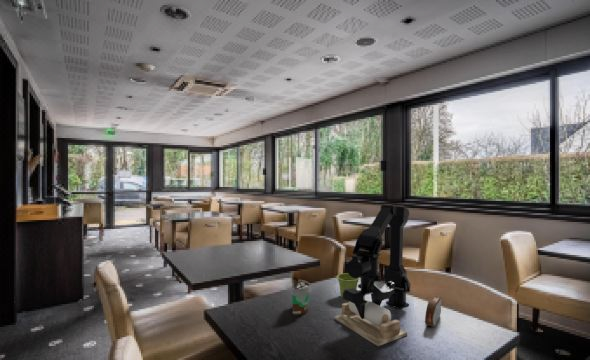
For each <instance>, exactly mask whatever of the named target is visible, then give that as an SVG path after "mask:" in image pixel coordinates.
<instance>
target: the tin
mask: <svg viewBox="0 0 590 360" xmlns="http://www.w3.org/2000/svg"><path fill="white" fill-rule="evenodd" d="M442 300H443V298H442V296H439V295H437V294H432V296H431V298H429V301H428V302H427V306H426V310H425V317H424V321H425V322H424V324H425V326H429V327H432V328H435V327H436V325H437V323H438V321H439V320H440V318H441V317H440V316H441V313H442V302H443V301H442Z"/></svg>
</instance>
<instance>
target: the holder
mask: <svg viewBox="0 0 590 360" xmlns="http://www.w3.org/2000/svg"><path fill="white" fill-rule="evenodd" d="M334 320H335V321H337V322H338V323H340V324H341V325H343V326H345V327H347V329H349V330H351V331H353V332H354V333H356V334H357V335H359V336H361V337H362V338H364V339H365V340H367V341H369V342H370V343H372V344H373V345H376V346H377V347H380V346H382V345H385V344H387V343H388V344H389V343H391V342H393V341H396V340H399V339H400V338H403V337H406V336H408V332H407V331H406V330H404V329H402V328H401V327H400V320H398V319H393V320H391V321H390V322H387V323H384V324H381V325H380V327H379V326H377V325H375V324H373V323H371V322H370V321H368V320H366V319H362V318H361V317H360V316H359V315H357V314H355V313H353V312H352V311H350V309H349V301H347V302H345V303H341V313H339V314H338V315H334Z"/></svg>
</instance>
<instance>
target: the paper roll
mask: <svg viewBox="0 0 590 360" xmlns="http://www.w3.org/2000/svg"><path fill="white" fill-rule="evenodd" d="M365 300H366V301H368V302H367V303H366V304H365V313H364V319H366V320H368V321H370V322H371V323H373V324H375V325H377V326H379V327H380V325H381V324H384V323H387V322H390V321H392V314H391V313H392V312H391V311H390V310H389V309H388V308H385V307H384V306H382V305H380V306H379V305H377V304H375V303H373V302H372V300H368V299H366V298H365ZM348 302H349V309H350V311H352V312H353V313H355V314H357V315H359V312H358V310H357V308H356V306H355V304H354V303H352V302H350V301H348ZM359 316H360V315H359Z"/></svg>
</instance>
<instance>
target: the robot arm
mask: <svg viewBox="0 0 590 360" xmlns="http://www.w3.org/2000/svg"><path fill="white" fill-rule="evenodd" d="M409 216H410V211H409V208H407V206H406V205H398V204H397V205H394V204H388V203H383V204H381V206H380V210H379V212H378V213H377V214H376V216H375V218H374V220H373V221H372V223H371V225H370V226H369V227H367V228H366V229H364V230H362V232H360V233H359V235H358V236H357V239H356V242H355V243H354V244H355V245H354V248H353V250H352V256H351V258H352V259H351V260H349V261H348V262H347V263H346V264H347V265H346V271H347V273H348V274H349V275H350V276H351V277H353V278H359V277H360V278H359V279H360V283H359V284H358V283H357V287H358V288H359V289H360V290H358V289H354V288H350V289H346V290H344V291H343V298H342V299H344V300H346V301H347V302H349V301H350V302H352V303H354V304H355V306H356V308H357V310H358V312H359V315H360V317H361V318H362V319H364V313H365V304H366V303H367V302H368V301H366V300H365V299H366V296H369V295H370V297H371V302H373V303H375V304H377V305H379V306H382V302H383V301H385V300H388V301H385V303H386V304H388V305H390V306H392V307H393V308H396V309H401V308H405V307H407V306H410V304H409V303H408V302H407V293H410V292H411V282H410V280H409V279H408V275H407V270H406V269H405V267H404V265H403V254H404V253H403V252H404V250H403V248H404V245H403V244H404V228H405V226H406V225H407V223H408V221H409V220H408V219H409ZM388 226H389V227H390V237H389V238H390V240H389V241H390V242H389V264H388V266H387V267H386V268H385V269H384V275H383V280H382V276H381V274H379V256H381V253H380V251H381V249H382V246H383V243H384V240H383V237H382V236H383V235H384V233H385V231H386V229H387V227H388Z"/></svg>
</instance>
